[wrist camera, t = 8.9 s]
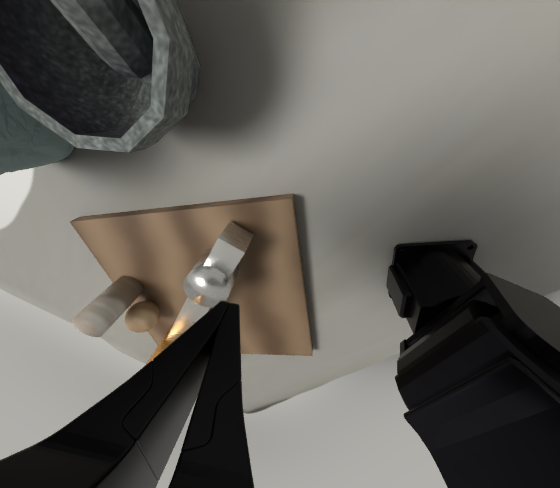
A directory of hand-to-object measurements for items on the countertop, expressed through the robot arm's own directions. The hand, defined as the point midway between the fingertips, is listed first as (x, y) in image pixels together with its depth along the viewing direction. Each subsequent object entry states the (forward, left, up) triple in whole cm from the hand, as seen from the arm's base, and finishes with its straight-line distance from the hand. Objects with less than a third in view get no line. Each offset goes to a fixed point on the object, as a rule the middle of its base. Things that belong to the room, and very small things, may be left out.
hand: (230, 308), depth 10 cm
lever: (+9, +9, -11) cm, 16 cm away
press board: (+10, +10, -12) cm, 18 cm away
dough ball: (+18, +11, -9) cm, 23 cm away
